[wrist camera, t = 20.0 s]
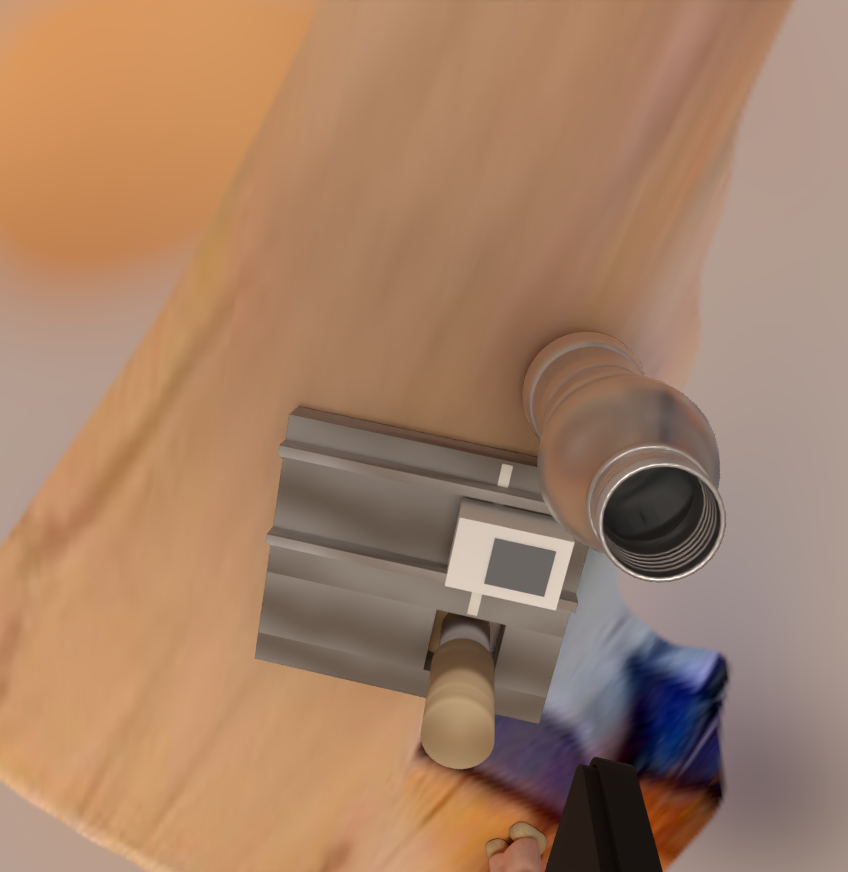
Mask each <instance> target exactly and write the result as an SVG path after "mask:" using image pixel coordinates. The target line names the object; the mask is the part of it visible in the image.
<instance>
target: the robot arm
mask: <svg viewBox="0 0 848 872" xmlns="http://www.w3.org/2000/svg"><path fill="white" fill-rule="evenodd" d="M545 872H663V871H662V867H661V863H660V860H659V856H658V852H657V848H656V845H655V841H654V837H653V833H652V830H651V826H650V822H649V819H648V815H647V811H646V807H645V804H644V800H643V796H642V792H641V789H640V785H639V781H638V777H637V774H636V771H635V768H634V767H633V766H632V765H629V764H624V763H620V762H616V761H611V760H607V759H603V758H598V757H594V758H593V759H592V760H591V762H590V765H589V766H587V765H582V764H579V765H578V767H577V769H576V771H575V775H574V778H573V781H572V784H571V788H570V791H569V794H568V797H567V801H566V804H565V807H564V811H563V814H562V817H561V820H560V824H559V827H558V830H557V833H556V837H555V840H554V843H553V846H552V850H551V853H550V856H549V859H548V863H547V866H546V869H545Z"/></svg>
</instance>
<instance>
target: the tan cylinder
mask: <svg viewBox="0 0 848 872" xmlns="http://www.w3.org/2000/svg"><path fill="white" fill-rule="evenodd" d="M489 645H490V627H489V623H488V621H486V620H481V619H477V618H472V617H468V616H463V615H459V614H454V613H449V614H448V615H447V616H446V617H445V619H444V621H443V624H442V630H441V637H440V644H439V648H438V649H437V650H436V652H435V653H434V655H433V658H432V664H431V670H430V677H429V683H428V690H427V696H426V703H425V710H424V716H423V723H422V729H421V741H422V745H423V747H424V749H425V751H426V752H427V754H428V755H429V756H430V757H431V758H432V759H433V760H435V761H436V762H438V763H439V764H441V765H444V766H446V767H450V768H455V769H465V768H470V767H474V766H476V765H478V764H480V763H482V762H483V761H484V760H485V759H486V758H487V757H488V756H489V755H490V753H491V751H492V749H493V747H494V661H493V658H492V656H491V654H490V652H489Z"/></svg>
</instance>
